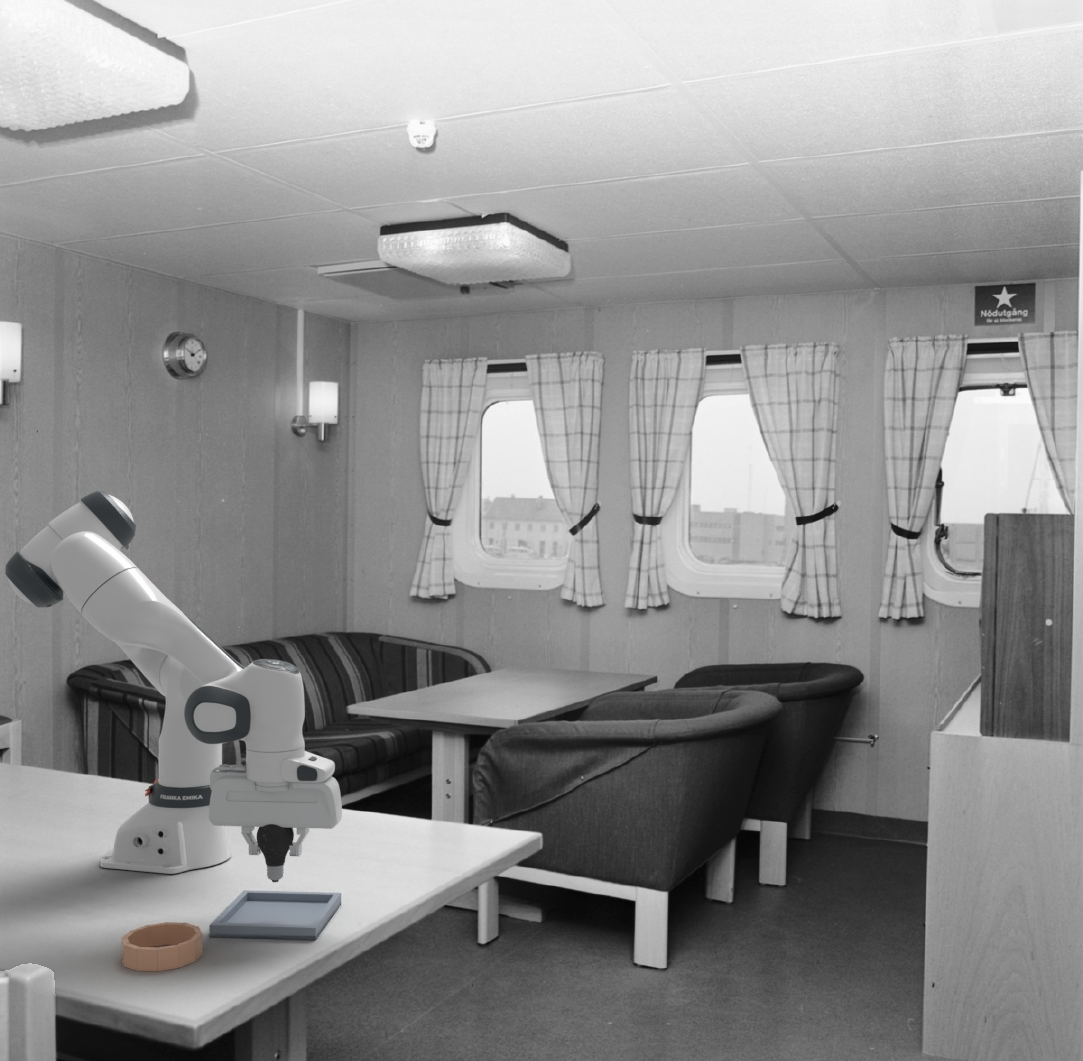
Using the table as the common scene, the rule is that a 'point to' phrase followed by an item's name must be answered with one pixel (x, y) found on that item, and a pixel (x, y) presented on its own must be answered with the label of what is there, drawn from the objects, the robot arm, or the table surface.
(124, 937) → the ring
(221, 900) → the table surface
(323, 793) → the robot arm
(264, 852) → the light bulb
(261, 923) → the tray
